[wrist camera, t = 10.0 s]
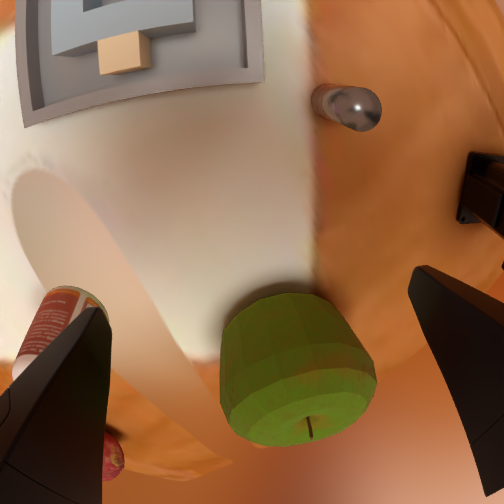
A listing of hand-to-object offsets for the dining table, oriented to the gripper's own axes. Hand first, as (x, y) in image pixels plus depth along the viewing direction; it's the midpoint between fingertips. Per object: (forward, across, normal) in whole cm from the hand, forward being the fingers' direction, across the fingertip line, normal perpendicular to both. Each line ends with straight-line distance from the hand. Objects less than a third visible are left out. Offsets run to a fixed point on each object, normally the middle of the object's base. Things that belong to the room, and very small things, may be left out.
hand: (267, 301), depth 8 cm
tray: (+12, +5, -12) cm, 18 cm away
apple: (+12, -3, +14) cm, 19 cm away
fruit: (+12, +22, +33) cm, 41 cm away
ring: (+11, +5, -12) cm, 17 cm away
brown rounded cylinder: (+12, -6, -4) cm, 14 cm away
